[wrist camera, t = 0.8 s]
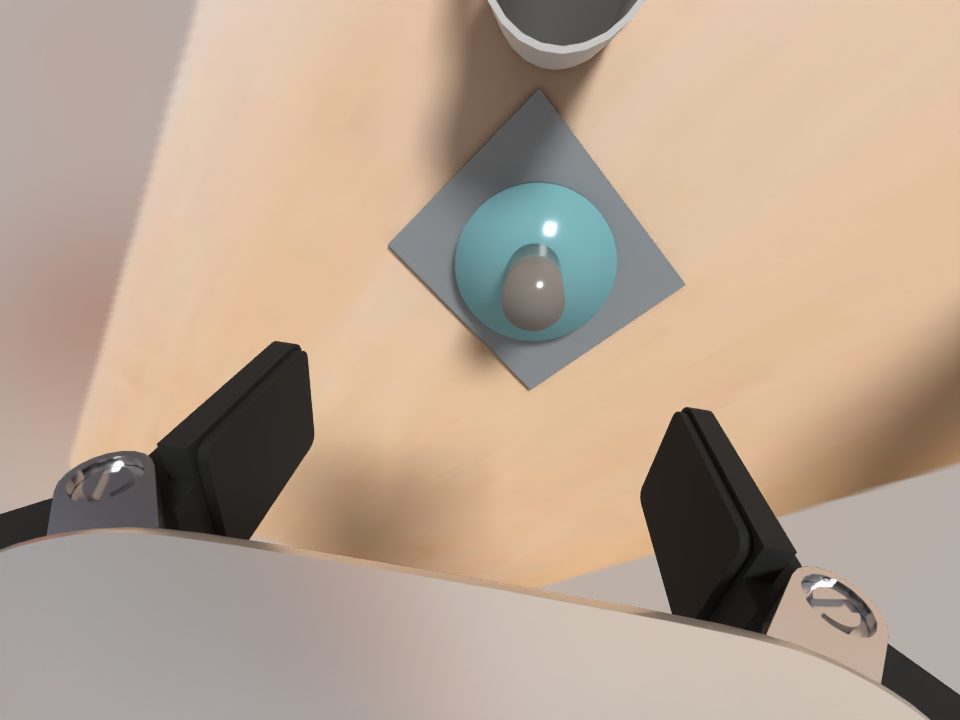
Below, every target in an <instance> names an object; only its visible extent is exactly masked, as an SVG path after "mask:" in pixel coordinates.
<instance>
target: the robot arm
mask: <svg viewBox="0 0 960 720" xmlns="http://www.w3.org/2000/svg"><path fill="white" fill-rule="evenodd" d="M313 440H314V424H313V412H312V401H311V390H310V378H309V367H308V356H307V353H306V352H305V351H301V348H300V346H299V345H298V344H291V343H285V342H279V341H274V342H273V343H271V344H270V345H269V346H268V347H267V348H266V349H264V350H263V351H262V352H261V353H260V354H259V355H258V356H256V357H255V358H254V359H253V360H252V361H251V362H250V363H248V364H247V365H246V366H245V367H244V368H243V369H242V370H240V371H239V372H238V373H237V374H236V375H235V376H234V377H232V378H231V379H230V380H229V381H228V382H227V383H226V384H224V385H223V386H222V387H221V388H220V389H219V390H218V391H217V392H215V393H214V394H213V395H212V396H211V397H210V398H209V399H207V400H206V401H205V402H204V403H203V404H202V405H201V406H199V407H198V408H197V409H196V410H195V411H194V412H193V413H191V414H190V415H189V416H188V417H187V418H186V419H185V420H183V421H182V422H181V423H180V424H179V425H178V426H177V427H176V428H174V429H173V430H172V431H171V432H170V433H169V434H168V435H166V436H165V437H164V438H163V439H162V440H161V441H160V442H158V443H157V446H158V447H157V448H156V449H155V450H154V451H153V452H152V453H151V454H150V455H146V454H144V453H140V452H136V451H119V452H113V453H107V454H104V455H101V456H98V457H95V458H92V459H90V460H88V461H86V462H83V463H81V464H79V465H78V466H76V467H75V468H73V469H72V470H70V471H69V472H68V473H66V474H65V475H64V476H63V477H62V479H61V480H60V481H59V482H58V483H57V485H56V488H55V490H54V494H53V498H51V499H48V500H44V501H42V502H38V503H35V504H32V505H28V506H25V507H22V508H19V509H15V510H13V511H9V512H6V513H3V514H0V720H960V695H959V694H958V693H956V692H955V691H953V690H952V689H951V688H949V687H948V686H947V685H945V684H944V683H942V682H941V681H940V680H938V679H937V678H935V677H934V676H933V675H931V674H930V673H928V672H927V671H926V670H924V669H923V668H921V667H920V666H919V665H917V664H916V663H914V662H913V661H912V660H910V659H909V658H907V657H906V656H905V655H903V654H902V653H900V652H899V651H897V650H896V649H895V648H893V647H892V646H891V645H889V644H888V638H889V636H888V626H887V624H886V622H885V620H884V618H883V616H882V614H881V612H880V611H879V610H878V609H877V607H876V606H875V605H874V603H873V602H872V601H871V600H870V599H869V598H868V597H867V596H866V595H865V594H864V593H863V592H861V591H860V590H859V589H858V588H857V587H855V586H854V585H852V584H851V583H850V582H848V581H847V580H846V579H844V578H842V577H840V576H838V575H836V574H834V573H832V572H830V571H827V570H824V569H821V568H818V567H809V566H805V567H802V566H801V564H800V563H799V561H798V559H797V558H796V556H795V554H796V553H797V552H796V550H795V548H794V547H793V545H792V544H791V542H790V540H789V538H788V537H787V535H786V533H785V532H784V530H783V529H782V527H781V525H780V523H779V522H778V520H777V519H776V517H775V515H774V514H773V512H772V510H771V509H770V507H769V505H768V504H767V502H766V500H765V499H764V497H763V495H762V494H761V492H760V490H759V489H758V487H757V485H756V484H755V482H754V480H753V479H752V477H751V475H750V474H749V472H748V471H747V469H746V467H745V466H744V464H743V462H742V461H741V459H740V457H739V456H738V454H737V452H736V451H735V449H734V447H733V446H732V444H731V442H730V441H729V439H728V437H727V436H726V434H725V432H724V431H723V429H722V427H721V426H720V424H719V423H718V421H717V419H716V418H715V416H714V414H713V413H712V412H711V411H708V410H702V409H696V408H689V407H686V408H684V409H683V410H682V411H681V412H676V413H675V414H674V415H673V417H672V419H671V422H670V424H669V426H668V429H667V431H666V433H665V435H664V438H663V440H662V442H661V445H660V447H659V449H658V452H657V454H656V456H655V459H654V461H653V463H652V466H651V468H650V470H649V472H648V475H647V477H646V479H645V482H644V484H643V486H642V489H641V495H640V499H641V505H642V508H643V512H644V516H645V519H646V523H647V526H648V530H649V533H650V537H651V541H652V544H653V548H654V551H655V555H656V558H657V562H658V566H659V569H660V573H661V576H662V580H663V583H664V587H665V591H666V594H667V597H668V601H669V605H670V608H671V612H672V614H668V613H663V612H658V611H653V610H648V609H642V608H637V607H631V606H626V605H620V604H615V603H609V602H604V601H598V600H593V599H587V598H582V597H576V596H571V595H565V594H559V593H554V592H549V591H543V590H538V589H532V588H526V587H521V586H515V585H509V584H504V583H498V582H492V581H487V580H481V579H475V578H470V577H464V576H458V575H453V574H447V573H441V572H435V571H430V570H424V569H418V568H412V567H407V566H401V565H395V564H389V563H383V562H378V561H372V560H366V559H360V558H354V557H348V556H342V555H336V554H330V553H324V552H318V551H313V550H307V549H301V548H295V547H289V546H283V545H276V544H271V543H264V542H257V541H251V540H249V539H250V538H251V536H252V535H253V533H254V532H255V530H256V529H257V527H258V526H259V524H260V523H261V521H262V520H263V518H264V517H265V515H266V514H267V512H268V511H269V509H270V508H271V506H272V505H273V503H274V502H275V500H276V499H277V497H278V496H279V494H280V493H281V491H282V490H283V488H284V487H285V485H286V484H287V482H288V481H289V479H290V478H291V476H292V475H293V473H294V472H295V470H296V469H297V467H298V466H299V464H300V463H301V461H302V460H303V458H304V457H305V455H306V454H307V452H308V451H309V449H310V447H311V446H312V443H313Z"/></svg>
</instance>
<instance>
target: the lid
mask: <svg viewBox="0 0 960 720" xmlns="http://www.w3.org/2000/svg"><path fill="white" fill-rule="evenodd" d="M616 268H617V252H616V246H615V242H614V238H613V235H612V232H611V230H610V228H609V226H608V224H607V222H606V221H605V219H604V218H603V216H602V214H601V213H600V211H599V210H598V209H597V208H596V207H595V206H594V205H593V203H592V202H590V201H589V200H588V199H587V198H586V197H584V196H583V195H581V194H580V193H578V192H576V191H575V190H573V189H570V188H568V187H566V186H563V185H559V184H556V183H550V182H526V183H520V184H517V185H513V186H510V187H508V188H505V189H503V190H501V191H499V192H497V193H496V194H494V195H493V196H491V197H490V198H488V199H487V200H486V201H485V202H484V203H482V204H481V205H480V207H479V208H478V209H477V210H476V211H475V212H474V213H473V215H472V216H471V218H470V219H469V221H468V222H467V224H466V225H465V227H464V229H463V231H462V233H461V236H460V239H459V242H458V245H457V250H456V255H455V274H456V280H457V284H458V287H459V290H460V293H461V295H462V297H463V299H464V301H465V303H466V305H467V306H468V308H469V309H470V311H471V312H472V313H473V314H474V315H475V316H476V317H477V318H478V319H479V320H480V321H481V322H482V323H483V324H485V325H486V326H487V327H489V328H490V329H492V330H494V331H495V332H497V333H499V334H502V335H504V336H507V337H510V338H514V339H517V340H524V341H544V340H550V339H555V338H558V337H561V336H564V335H567V334H569V333H571V332H573V331H575V330H576V329H578V328H580V327H581V326H583V325H584V324H585V323H587V322H588V321H589V320H590V319H591V318H592V317H593V316H594V315H595V314H596V313H597V312H598V311H599V310H600V308H601V307H602V306H603V304H604V303H605V301H606V299H607V298H608V296H609V294H610V291H611V289H612V286H613V283H614V280H615V276H616Z"/></svg>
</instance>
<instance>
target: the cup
mask: <svg viewBox="0 0 960 720" xmlns="http://www.w3.org/2000/svg"><path fill="white" fill-rule="evenodd" d="M645 1H646V0H488V2H489V5H490V7H491V9H492V11H493V13H494V16H495V18H496V20H497V22H498V25H499V27H500V29H501V31H502V33H503V35H504V36H505V38H506V40H507V41H508V43H509V44H510V46H511V48H512V49H513V50H514V51H515V52H516V53H517V54H519V55H520V56H521V57H522V58H523V59H524V60H525V61H527V62H529V63H531V64H533V65H535V66H537V67H539V68H545V69H551V70H560V69H566V68H572V67H575V66H577V65H579V64H581V63H583V62H585V61H587V60H589V59H591V58H592V57H593V56H594V55H595V54H597V53H598V52H599V51H600V50H601V49H602V48H604V47H605V46H606V45H607V44H608V43H609V42H610V41H611V40H612V39H613V38H614V37H615V36H616V35H617V34H618V33H619V32H620V31H621V30H622V29H623V28H624V27H625V26H626V25H627V24H628V23H629V22H630V21H631V20H632V18H633V17H634V16H635V14H636V13H637V12H638V10H639V9H640V8H641V6H642V5H643V4H644V3H645Z"/></svg>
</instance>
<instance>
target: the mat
mask: <svg viewBox="0 0 960 720" xmlns="http://www.w3.org/2000/svg"><path fill="white" fill-rule="evenodd" d="M526 182H550V183H556V184H559V185H563V186H566V187H568V188H570V189H573V190H575V191H576V192H578V193H580V194H581V195H583V196H584V197H586V198H587V199H588V200H589V201H590V202H592V203H593V205H594V206H595V207H596V208H597V209H598V210H599V211H600V213H601V214H602V216H603V218H604V219H605V221H606V222H607V224H608V226H609V228H610V230H611V232H612V235H613V238H614V242H615V246H616V252H617V268H616V276H615V280H614V283H613V286H612V289H611V291H610V294H609V296H608V298H607V299H606V301H605V303H604V304H603V306H602V307H601V308H600V310H599V311H598V312H597V313H596V314H595V315H594V316H593V317H592V318H591V319H590V320H589V321H588V322H587V323H585V324H584V325H583V326H581V327H580V328H578V329H576V330H575V331H573V332H571V333H569V334H567V335H564V336H561V337H558V338H555V339H550V340H544V341H524V340H517V339H514V338H510V337H507V336H504V335H502V334H499V333H497V332H495V331H494V330H492V329H490V328H489V327H487V326H486V325H485V324H483V323H482V322H481V321H480V320H479V319H478V318H477V317H476V316H475V315H474V314H473V313H472V312H471V311H470V309H469V308H468V306H467V305H466V303H465V301H464V299H463V297H462V295H461V293H460V290H459V287H458V284H457V280H456V274H455V255H456V250H457V245H458V242H459V239H460V236H461V233H462V231H463V229H464V227H465V225H466V224H467V222H468V221H469V219H470V218H471V216H472V215H473V213H474V212H475V211H476V210H477V209H478V208H479V207H480V205H481V204H482V203H484V202H485V201H486V200H487V199H488V198H490V197H491V196H493V195H494V194H496V193H497V192H499V191H501V190H503V189H505V188H508V187H510V186H513V185H517V184H520V183H526ZM388 246H389V247H390V248H391V249H392V250H393V251H394V252H395V253H396V254H397V255H398V256H399V257H400V258H401V259H402V260H403V261H404V262H405V263H406V264H407V265H408V266H409V267H410V268H411V269H412V270H413V271H414V272H415V273H416V274H417V275H418V276H419V277H420V278H421V279H422V280H423V281H424V282H425V283H426V284H427V285H428V286H429V287H430V288H431V289H432V290H433V291H434V292H435V293H436V294H437V295H438V296H439V297H440V298H441V300H442V301H443V302H444V303H445V304H446V305H447V306H448V307H449V308H450V309H451V310H452V311H453V312H454V313H455V314H456V315H457V316H458V317H459V318H460V319H461V320H462V321H463V322H464V323H465V324H466V325H467V326H468V327H469V328H470V329H471V330H472V331H473V332H474V333H475V334H476V335H477V336H478V337H479V338H480V339H481V340H482V341H483V342H484V343H485V344H486V345H487V346H488V347H489V348H490V349H491V350H492V351H493V352H494V353H495V354H496V355H497V356H498V357H499V358H500V359H501V360H502V361H503V363H504V364H505V365H506V366H507V367H508V368H509V369H510V370H511V371H512V372H513V373H514V374H515V375H516V376H517V377H518V378H519V379H520V380H521V381H522V382H523V383H524V384H525V385H526V386H527V387H528V388H529V389H530V390H531V389H533V388H534V387H535V386H537V385H538V384H540V383H541V382H543V381H544V380H546V379H547V378H549V377H550V376H552V375H553V374H555V373H556V372H558V371H559V370H561V369H562V368H564V367H565V366H566V365H568V364H569V363H571V362H572V361H574V360H575V359H577V358H578V357H580V356H581V355H583V354H584V353H586V352H587V351H589V350H590V349H592V348H593V347H595V346H596V345H597V344H599V343H600V342H602V341H603V340H605V339H606V338H608V337H609V336H611V335H612V334H614V333H615V332H617V331H618V330H620V329H621V328H623V327H624V326H626V325H627V324H629V323H630V322H631V321H633V320H634V319H636V318H637V317H639V316H640V315H642V314H643V313H645V312H646V311H648V310H649V309H651V308H652V307H654V306H655V305H657V304H658V303H660V302H661V301H662V300H664V299H665V298H667V297H668V296H670V295H671V294H673V293H674V292H676V291H677V290H679V289H680V288H682V287H683V286H685V283H684V282H683V280H682V279H681V278H680V276H679V275H678V274H677V272H676V271H675V270H674V268H673V267H672V266H671V264H670V263H669V262H668V260H667V259H666V258H665V256H664V255H663V254H662V252H661V251H660V250H659V248H658V247H657V246H656V244H655V243H654V242H653V240H652V239H651V238H650V236H649V235H648V233H647V232H646V231H645V229H644V228H643V227H642V225H641V224H640V223H639V221H638V220H637V219H636V217H635V216H634V215H633V213H632V212H631V211H630V209H629V208H628V207H627V205H626V204H625V203H624V201H623V200H622V199H621V197H620V196H619V195H618V193H617V192H616V191H615V189H614V188H613V187H612V185H611V184H610V182H609V181H608V180H607V178H606V177H605V176H604V174H603V173H602V172H601V170H600V169H599V168H598V166H597V165H596V164H595V162H594V161H593V160H592V158H591V157H590V156H589V154H588V153H587V152H586V150H585V149H584V148H583V146H582V145H581V144H580V142H579V141H578V140H577V138H576V137H575V135H574V134H573V133H572V131H571V130H570V129H569V127H568V126H567V125H566V123H565V122H564V121H563V119H562V118H561V117H560V115H559V114H558V113H557V111H556V110H555V109H554V107H553V106H552V105H551V103H550V102H549V101H548V99H547V98H546V97H545V95H544V94H543V93H542V91H541V90H540V89H538V90H537V91H536V92H535V93H534V94H533V95H532V96H531V97H530V98H529V99H528V100H527V101H526V102H525V104H524V105H523V106H522V107H521V108H520V109H519V110H518V111H517V112H516V113H515V114H514V115H513V116H512V117H511V118H510V119H509V120H508V121H507V122H506V123H505V124H504V125H503V126H502V127H501V128H500V129H499V130H498V131H497V132H496V134H495V135H494V136H493V137H492V138H491V139H490V140H489V141H488V142H487V143H486V144H485V145H484V146H483V147H482V148H481V149H480V150H479V151H478V152H477V153H476V154H475V155H474V156H473V157H472V158H471V159H470V160H469V161H468V162H467V163H466V165H465V166H464V167H463V168H462V169H461V170H460V171H459V172H458V173H457V174H456V175H455V176H454V177H453V178H452V179H451V180H450V181H449V182H448V183H447V184H446V185H445V186H444V187H443V188H442V189H441V190H440V191H439V192H438V193H437V194H436V196H435V197H434V198H433V199H432V200H431V201H430V202H429V203H428V204H427V205H426V206H425V207H424V208H423V209H422V210H421V211H420V212H419V213H418V214H417V215H416V216H415V217H414V218H413V219H412V220H411V221H410V222H409V223H408V224H407V226H406V227H405V228H404V229H403V230H402V231H401V232H400V233H399V234H398V235H397V236H396V237H395V238H394V239H393V240H392V241H391V242H390V243H389V244H388Z"/></svg>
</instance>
